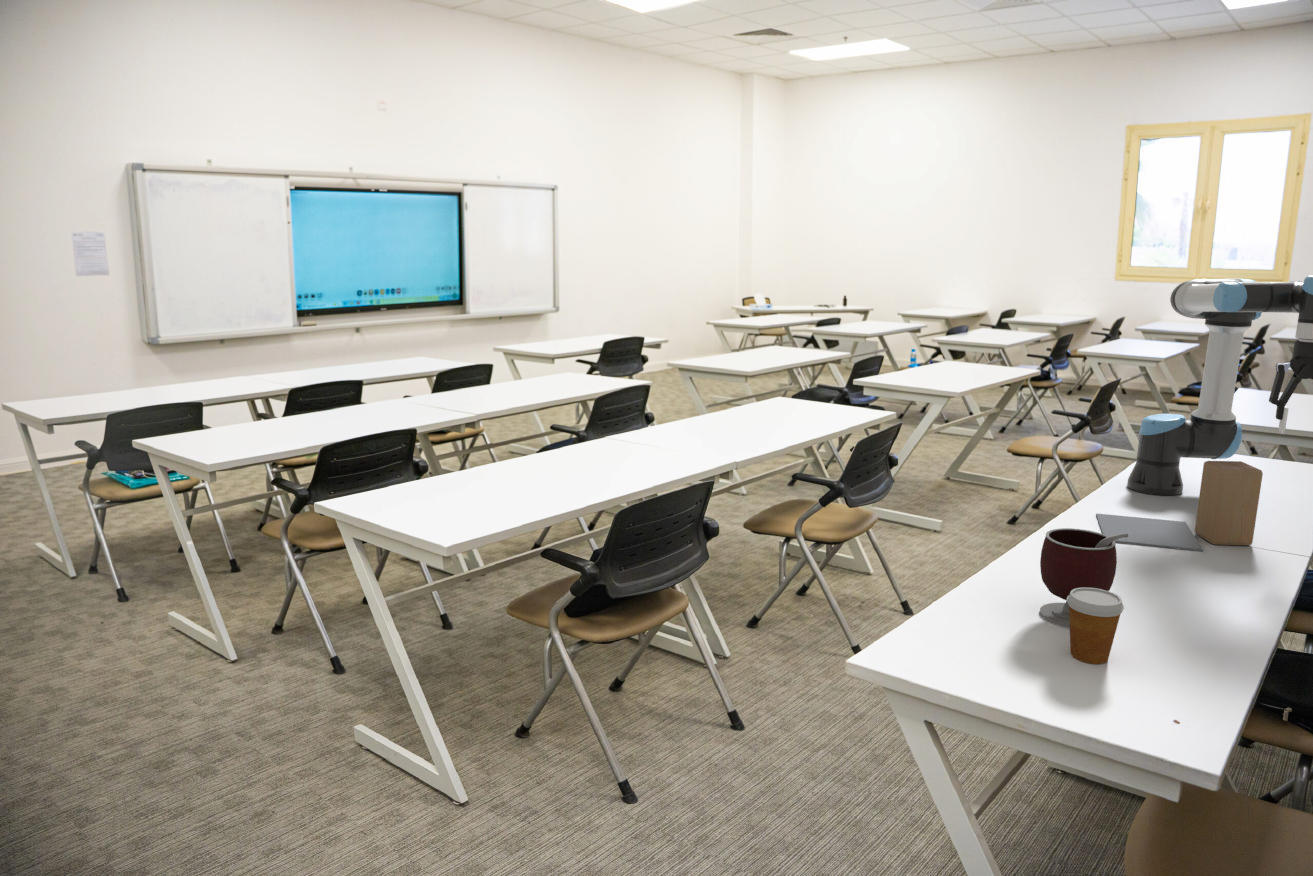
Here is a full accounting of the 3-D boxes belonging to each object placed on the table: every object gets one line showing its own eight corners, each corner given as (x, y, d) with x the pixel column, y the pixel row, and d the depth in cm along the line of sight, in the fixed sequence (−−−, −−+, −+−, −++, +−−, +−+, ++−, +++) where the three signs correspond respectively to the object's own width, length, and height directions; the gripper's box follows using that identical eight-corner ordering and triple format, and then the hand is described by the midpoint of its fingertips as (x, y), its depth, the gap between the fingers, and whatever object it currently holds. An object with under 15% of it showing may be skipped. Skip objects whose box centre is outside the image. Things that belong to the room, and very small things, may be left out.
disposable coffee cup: (1051, 646, 169) (1057, 587, 167) (1099, 644, 170) (1105, 585, 167) (1078, 669, 160) (1085, 607, 157) (1129, 667, 161) (1136, 605, 158)
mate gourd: (1025, 618, 182) (1033, 525, 178) (1049, 598, 192) (1058, 510, 188) (1105, 640, 172) (1117, 542, 167) (1127, 618, 182) (1138, 525, 177)
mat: (1096, 515, 250) (1096, 513, 250) (1185, 523, 242) (1185, 521, 242) (1104, 541, 228) (1105, 539, 228) (1203, 551, 221) (1203, 549, 220)
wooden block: (1232, 534, 234) (1243, 460, 229) (1253, 546, 224) (1265, 470, 220) (1192, 533, 235) (1202, 459, 230) (1211, 545, 225) (1222, 469, 221)
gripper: (1270, 340, 214) (1256, 433, 219) (1369, 343, 207) (1353, 439, 212) (1261, 337, 220) (1248, 428, 225) (1357, 340, 213) (1342, 433, 218)
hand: (1299, 433), depth 218 cm, fingers open, 7 cm apart
